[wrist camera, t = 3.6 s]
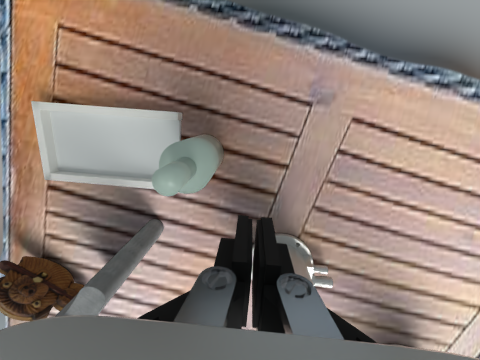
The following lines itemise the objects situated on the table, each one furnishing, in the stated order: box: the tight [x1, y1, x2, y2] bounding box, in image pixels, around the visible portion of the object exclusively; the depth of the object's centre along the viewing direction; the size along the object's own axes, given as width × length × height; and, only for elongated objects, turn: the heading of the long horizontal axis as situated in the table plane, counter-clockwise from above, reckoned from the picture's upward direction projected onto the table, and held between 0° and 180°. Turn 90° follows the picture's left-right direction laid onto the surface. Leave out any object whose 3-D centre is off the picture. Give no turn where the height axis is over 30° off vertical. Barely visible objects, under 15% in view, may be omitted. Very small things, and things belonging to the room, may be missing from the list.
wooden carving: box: [0, 256, 84, 321], centre depth 41 cm, size 16×5×10 cm, turn 57°
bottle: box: [152, 134, 224, 196], centre depth 29 cm, size 6×6×18 cm
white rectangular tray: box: [31, 101, 182, 189], centre depth 37 cm, size 23×13×2 cm, turn 86°
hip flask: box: [55, 219, 164, 317], centre depth 34 cm, size 16×4×20 cm, turn 135°
